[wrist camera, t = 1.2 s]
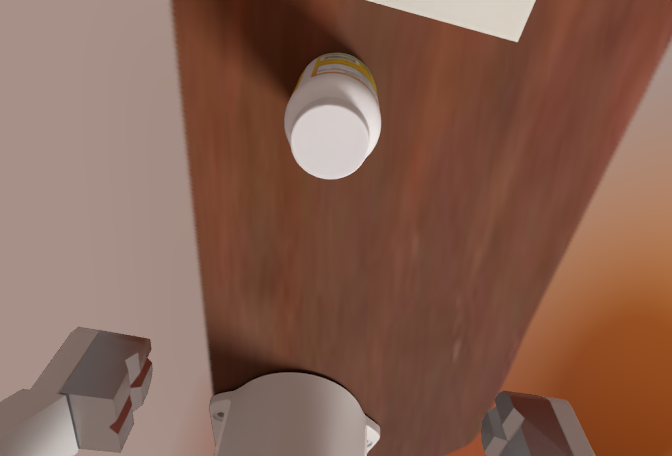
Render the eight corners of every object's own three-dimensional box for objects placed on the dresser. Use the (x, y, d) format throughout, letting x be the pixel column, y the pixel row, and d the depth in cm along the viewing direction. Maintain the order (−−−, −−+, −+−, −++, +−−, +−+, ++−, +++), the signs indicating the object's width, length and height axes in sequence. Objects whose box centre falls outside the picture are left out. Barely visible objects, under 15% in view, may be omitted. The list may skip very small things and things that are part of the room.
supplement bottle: (328, 145, 32) (318, 209, 24) (281, 82, 30) (253, 130, 22) (391, 102, 31) (404, 157, 22) (347, 33, 28) (342, 65, 20)
